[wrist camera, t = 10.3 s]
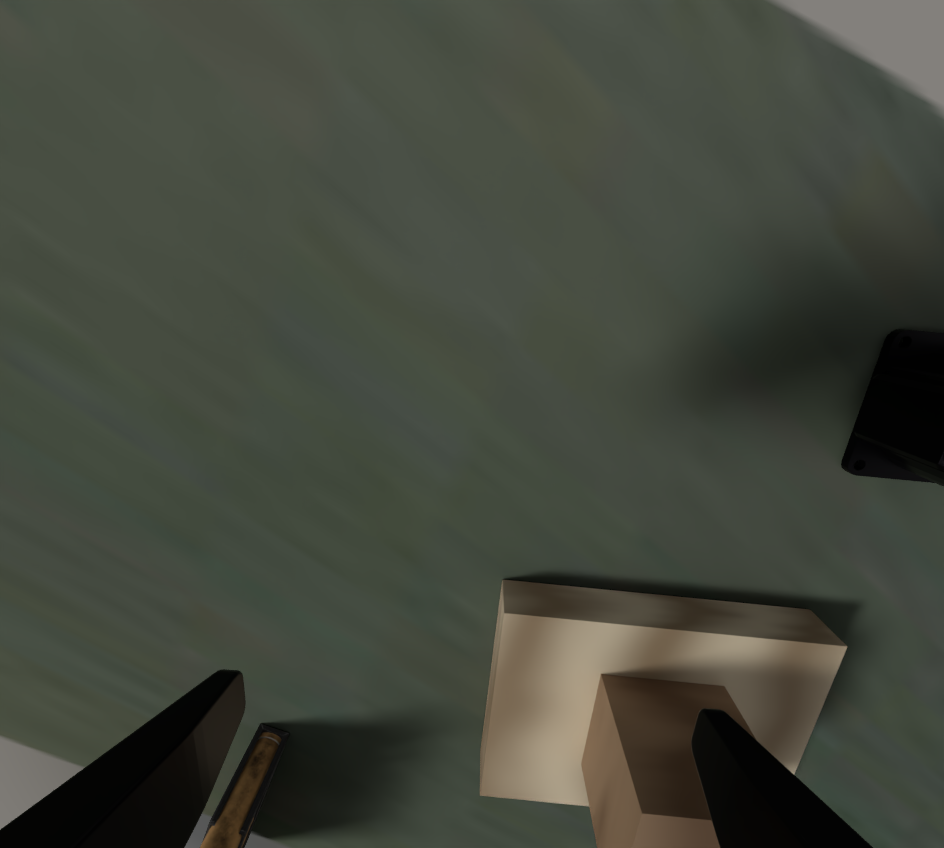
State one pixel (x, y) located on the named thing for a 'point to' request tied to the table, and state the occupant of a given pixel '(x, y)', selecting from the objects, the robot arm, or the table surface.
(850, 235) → the table surface
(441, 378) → the table surface
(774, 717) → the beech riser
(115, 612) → the table surface
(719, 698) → the walnut cube
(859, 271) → the table surface
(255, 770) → the ammunition clip
